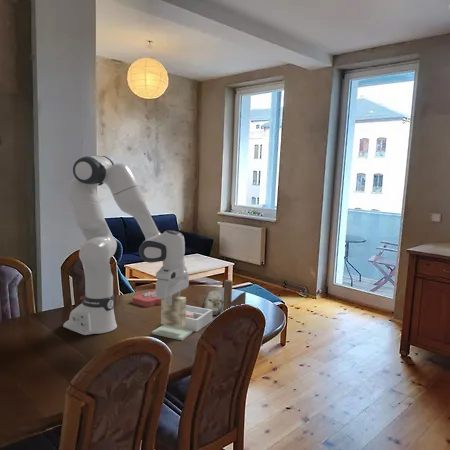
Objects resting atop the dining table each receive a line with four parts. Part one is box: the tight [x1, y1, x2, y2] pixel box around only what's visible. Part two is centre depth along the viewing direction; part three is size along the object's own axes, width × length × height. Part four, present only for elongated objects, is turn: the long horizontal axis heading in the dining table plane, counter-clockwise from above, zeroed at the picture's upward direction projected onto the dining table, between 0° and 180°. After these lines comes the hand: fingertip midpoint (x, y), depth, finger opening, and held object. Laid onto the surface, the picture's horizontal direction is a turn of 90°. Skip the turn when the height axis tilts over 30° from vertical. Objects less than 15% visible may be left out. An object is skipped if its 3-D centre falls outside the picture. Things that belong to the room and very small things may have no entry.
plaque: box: [132, 289, 161, 308], centre depth 214 cm, size 18×4×15 cm
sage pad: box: [151, 324, 194, 341], centre depth 173 cm, size 14×9×1 cm, turn 66°
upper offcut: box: [186, 312, 195, 319], centre depth 182 cm, size 8×4×3 cm, turn 76°
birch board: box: [160, 294, 187, 328], centre depth 171 cm, size 10×3×12 cm, turn 66°
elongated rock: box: [203, 290, 224, 316], centre depth 212 cm, size 35×5×10 cm
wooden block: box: [221, 279, 247, 313], centre depth 189 cm, size 4×11×18 cm, turn 54°
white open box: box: [178, 304, 214, 332], centre depth 185 cm, size 16×15×5 cm
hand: (173, 303), depth 171 cm, fingers closed on birch board, 3 cm apart
